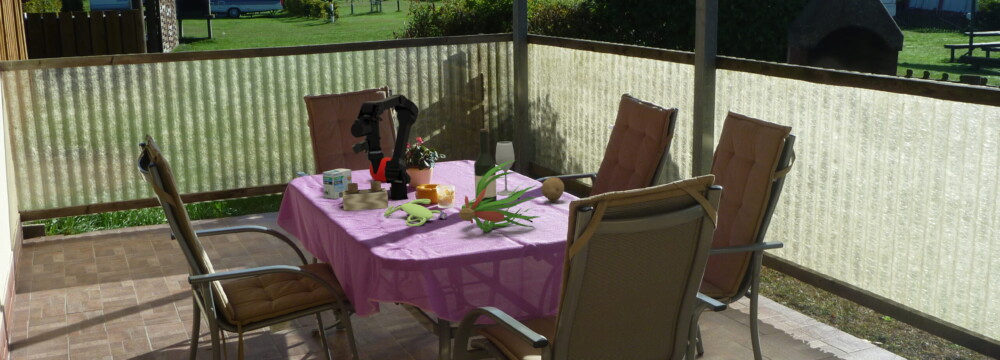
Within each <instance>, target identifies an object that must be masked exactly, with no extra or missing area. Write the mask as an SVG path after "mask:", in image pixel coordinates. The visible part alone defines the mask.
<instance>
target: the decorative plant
mask: <svg viewBox="0 0 1000 360" xmlns="http://www.w3.org/2000/svg"><path fill="white" fill-rule="evenodd" d="M505 159H506V158H505ZM503 160H504V159H503ZM501 161H502V160H501ZM513 161H514V162H513V163H512V164H511V165H510V166H509V168H510V167H511V166H513V165H514V164H515V162H516V161H517V159H514V160H513ZM510 162H512V161H509V162H506V163H503V164H501V165H497V163H496V162H495V167H494V168H493V169H491V170H490V171H488V172H487V173H486V174H485V175H484V176H483V175H482V176H483V177H482V179H481V178H480V179H481V180H479V181H480V182H478V185H477V189H476V198H474V199H472V200H469V197H468V196H467V195H464V204H463V205H462V206H461V209H460V210H459V214H458V216H459V218H460V219H461V220H464V221H465V222H470V223H471V224H473V223H474V221H475V222H476V223H475V224H476V225H477V227H478V228H479V229H480V230H482V231H483V232H484V233H488V232H489V231H490V230H491V229H492V228H503V227H504V228H505V227H509V226H512V225H516V226H519V227H520V226H521V227H526V228H527V227H529V228H533V229H534V230H535V229H537V228H536V227H534V226H533V225H528V224H523V223H521V222H519V221H521V220H525V221H528V222H529V223H534V221H533V219H537V218H540V216H537V215H533V216H531V215H525V214H523V213H526V212H528V211H530V210H531V209H533V207H532V208H527V209H525V210H524V211H523V213H520V212H521V208H519V209H518V210H517V211H514V210H512V211H509V209H510V208H513V207H515V206H517V205H519V204H522V203H523V202H528V201H529V200H531V201H533V200H535V197H531V196H530V197H526V198H524V199H521V200H520V197H521V196H523V195H524V194H525V193H526V192H527V191H529V190H531V189H533V188H536V187H537V184H536V185H533V186H529V187H526V188H523V189H522V190H518V188H520V186H522V185H524V184H526V183H527V181H525V182H524V183H522V184H520V185H518V186H517V187H515V189H514V190H513V192H512V193H511V194H510V195H507V197H506V198H502V199H498V200H497V201H493V202H489V201H491V200H493V199H489V200H485V201H482V199H484V198H486V197H484V195H485V192H486V187H487V186H488V184H489V183H490V182H492V181H493V180H495V179H496V180H498V179H501V178H502V179H503V178H504V179H505V175H510V174H516V172H514V171H507V173H504V172H505V171H503V169H507V168H501V167H502V166H504V165H506V164H508V163H510ZM498 163H499V162H498ZM493 166H494V165H493ZM490 168H491V167H490ZM509 168H508V169H509ZM511 168H512V167H511ZM511 168H510V169H511ZM508 169H507V170H508ZM510 169H509V170H510ZM500 171H503V172H501V173H499V172H500ZM494 173H496V176H494V177H492V178H491V179H490V180H489V181H487V183H486V180H487V179H488V177H490V176H491V175H493V174H494ZM497 173H498V174H497ZM487 192H488V191H487ZM514 192H515V193H514ZM513 193H514V194H513ZM483 197H484V198H483ZM487 197H488V196H487ZM489 197H491V196H489ZM492 197H493V196H492ZM538 198H539V196H538V197H537V196H536V199H538ZM518 199H519V200H518ZM516 200H518V201H516ZM481 201H482V202H481ZM487 202H489V203H487ZM485 203H486V204H485ZM513 212H514V213H513ZM516 219H519V220H517V221H515V220H516ZM481 220H483V222H482V221H481Z"/></svg>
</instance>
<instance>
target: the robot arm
mask: <svg viewBox="0 0 1000 360" xmlns="http://www.w3.org/2000/svg"><path fill="white" fill-rule="evenodd" d="M392 108H393V110H394V112H396V119H397V121H398V128H397V133H396V138H395V142H394V147H393V152H392V157H391V158H392V159H391V160H390V161H386V166H385V169H384V170H385V172H384V175H385V178H386V182H385V183H386V184H390V186H389V188H388V189H389V198H391V200H393V201H396V200H406V199H409V197H408V185H409V184H410V183H411V180H412V177H411V176H410V174H409V173H408V172H407V170H408V169H407V168H408V166H407V165H406V162H405V158H406V153H407V150H408V149H407V147H408V143H409V138H410V133H411V129H412V126H413V125H414V124H415V123H416V122H417V119H418V116H419V113H420V110H419V107H418V105H416V103H415V102H413V101H412V100H411V99H408V98H407V97H406V96H405V95H404V94H392V95H391V96H388V97H385V98H383V99H379V100H374V101H372V100H371V101H363V102H362V105H361V106H360V109H359V111H358V115H357V116H356V117H357V118H356V119H354V123H353V124H352V125H351V126H350V132H351V133H350V134H351V136H353V137H354V138H357V139H358V138H363V137H364V140H361V141H359V142H356V143H354V144H352V145H351V149H352V152H353V153H354V155H358V154H359V153H361V152H364V153H365V156H366V159H367V160H368V161H369V162H370V164H371V165H372V169H373V173H374V174H377V172H378V169H379V166H380V163H381V160H382V158H384V157H385V154H384V151H382V149H383V148H382V141H381V140H382V136H381V127H380V126H381V125H380V124H381V122H382V121H383V118H382V117H380V116H381V115H383V114H384V112H385V111H387V110H389V109H392Z"/></svg>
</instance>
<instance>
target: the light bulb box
mask: <svg viewBox="0 0 1000 360" xmlns="http://www.w3.org/2000/svg"><path fill="white" fill-rule="evenodd" d="M352 175H353V174H352V169H348V168H342V167H341V168H335V169H331V170H327V171H323V172H322V184H323V185H322V186H323V198H326V199H332V200H336V199H340V198H343V196H342V191H348V186H347V184H348V183H353V179H352V177H353V176H352Z"/></svg>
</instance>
